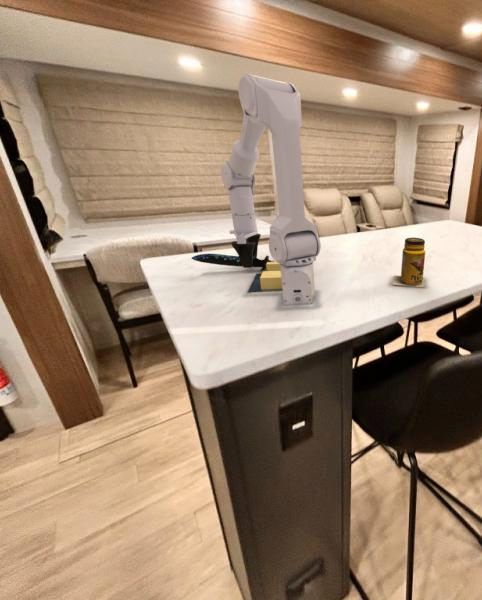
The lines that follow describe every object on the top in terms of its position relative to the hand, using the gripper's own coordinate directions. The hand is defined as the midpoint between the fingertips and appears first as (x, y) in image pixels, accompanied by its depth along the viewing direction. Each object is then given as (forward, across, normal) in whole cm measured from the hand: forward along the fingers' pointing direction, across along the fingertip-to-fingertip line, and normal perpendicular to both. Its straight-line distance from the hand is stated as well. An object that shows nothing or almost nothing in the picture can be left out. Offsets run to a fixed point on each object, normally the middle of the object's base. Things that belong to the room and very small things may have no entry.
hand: (250, 263), depth 87 cm
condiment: (+3, +13, +43) cm, 45 cm away
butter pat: (+2, +5, +8) cm, 9 cm away
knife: (+2, 0, 0) cm, 2 cm away
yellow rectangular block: (+2, +14, +8) cm, 16 cm away
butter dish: (+2, +11, +8) cm, 14 cm away
